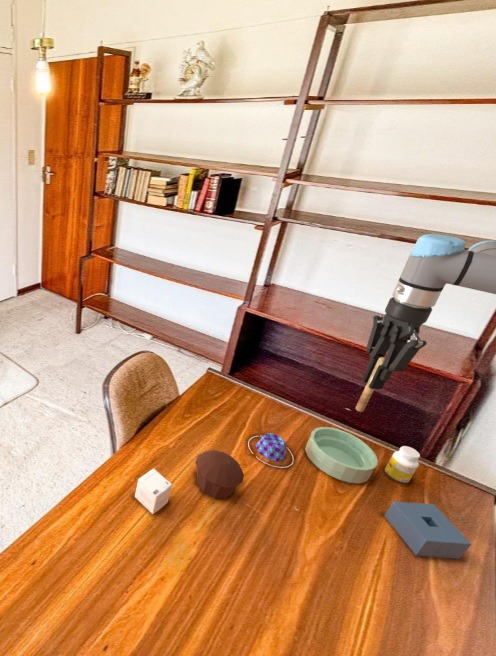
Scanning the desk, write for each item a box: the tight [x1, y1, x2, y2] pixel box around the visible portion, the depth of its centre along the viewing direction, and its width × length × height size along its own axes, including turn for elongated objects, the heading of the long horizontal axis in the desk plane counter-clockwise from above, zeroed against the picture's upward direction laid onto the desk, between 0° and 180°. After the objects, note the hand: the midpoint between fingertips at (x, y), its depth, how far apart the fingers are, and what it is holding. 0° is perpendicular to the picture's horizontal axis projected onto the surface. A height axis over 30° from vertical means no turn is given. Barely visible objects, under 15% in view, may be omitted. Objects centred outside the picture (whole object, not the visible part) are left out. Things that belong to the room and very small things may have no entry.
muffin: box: [195, 449, 245, 500], centre depth 103 cm, size 12×11×10 cm
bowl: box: [304, 426, 379, 484], centre depth 113 cm, size 16×16×6 cm
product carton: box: [134, 468, 173, 515], centre depth 99 cm, size 6×6×7 cm
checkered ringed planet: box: [247, 432, 295, 469], centre depth 116 cm, size 12×12×5 cm
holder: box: [384, 501, 472, 560], centre depth 93 cm, size 10×10×6 cm
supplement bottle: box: [384, 445, 421, 484], centre depth 108 cm, size 5×5×10 cm
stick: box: [355, 356, 386, 413], centre depth 100 cm, size 2×2×17 cm
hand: (371, 384), depth 100 cm, fingers closed on stick, 2 cm apart
